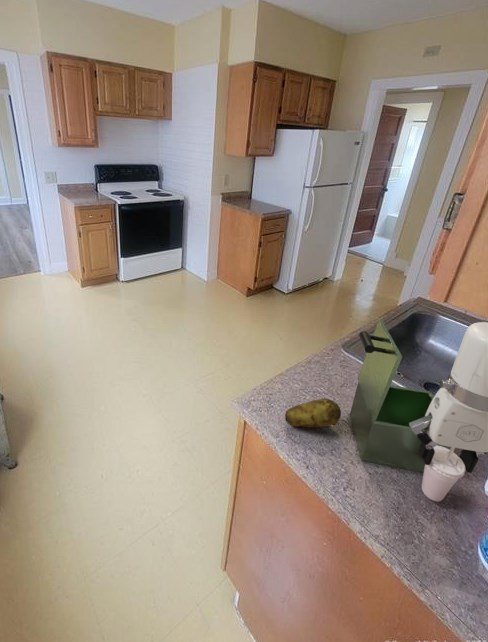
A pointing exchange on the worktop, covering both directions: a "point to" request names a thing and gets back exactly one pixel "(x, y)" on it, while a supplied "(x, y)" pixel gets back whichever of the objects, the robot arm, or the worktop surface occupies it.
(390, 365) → the lid
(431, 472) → the smoothie
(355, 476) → the worktop surface
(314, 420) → the potato
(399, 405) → the caddy
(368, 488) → the worktop surface
